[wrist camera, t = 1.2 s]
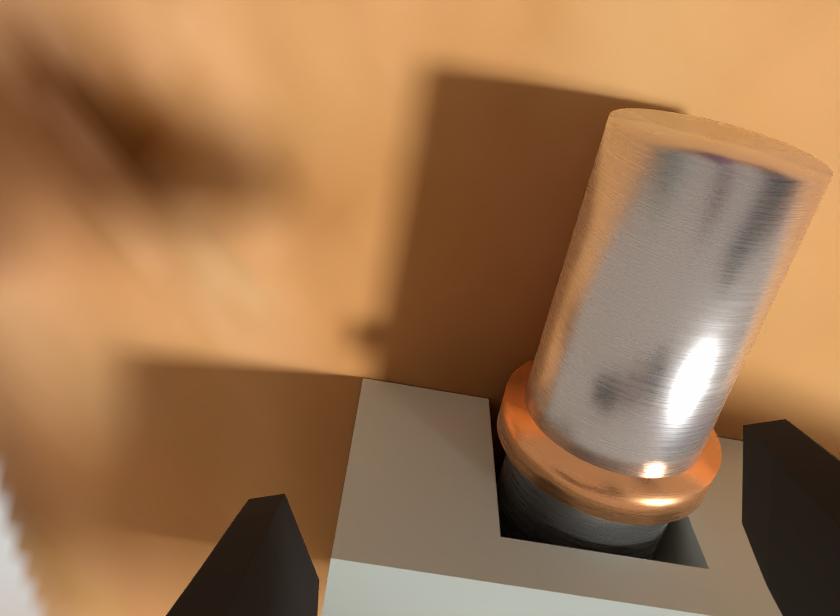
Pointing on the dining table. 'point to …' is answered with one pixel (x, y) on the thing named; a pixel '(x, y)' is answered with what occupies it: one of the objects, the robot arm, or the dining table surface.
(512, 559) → the block
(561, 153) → the dining table surface
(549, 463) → the silver copper cylinder
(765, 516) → the robot arm
